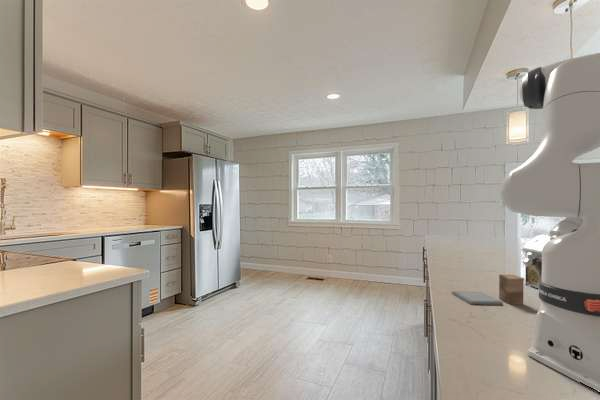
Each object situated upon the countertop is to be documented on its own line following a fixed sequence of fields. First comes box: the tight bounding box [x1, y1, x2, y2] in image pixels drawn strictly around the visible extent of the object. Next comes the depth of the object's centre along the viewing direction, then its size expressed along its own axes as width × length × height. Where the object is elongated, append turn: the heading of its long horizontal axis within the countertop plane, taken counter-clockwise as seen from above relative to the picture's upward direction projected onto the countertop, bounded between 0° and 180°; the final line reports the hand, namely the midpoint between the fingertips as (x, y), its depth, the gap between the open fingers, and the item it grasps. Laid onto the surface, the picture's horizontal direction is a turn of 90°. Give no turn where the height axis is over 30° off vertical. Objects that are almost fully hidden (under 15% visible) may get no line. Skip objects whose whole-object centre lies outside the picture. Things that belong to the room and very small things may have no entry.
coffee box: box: [524, 252, 542, 289], centre depth 111 cm, size 9×6×16 cm
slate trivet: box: [451, 290, 504, 306], centre depth 96 cm, size 11×10×1 cm
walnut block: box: [498, 274, 525, 305], centre depth 94 cm, size 5×5×8 cm
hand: (536, 267), depth 94 cm, fingers open, 8 cm apart
